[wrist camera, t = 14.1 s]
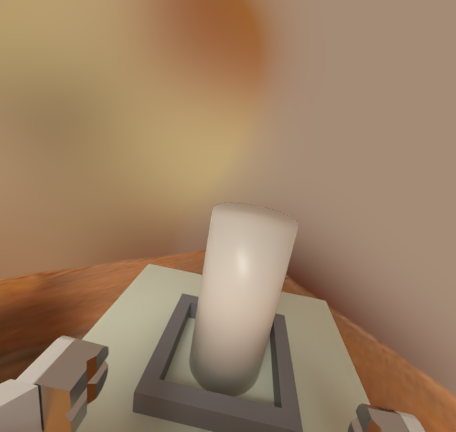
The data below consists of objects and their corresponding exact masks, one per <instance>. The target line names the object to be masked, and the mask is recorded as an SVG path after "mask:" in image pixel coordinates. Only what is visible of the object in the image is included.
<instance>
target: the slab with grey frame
mask: <svg viewBox="0 0 456 432" xmlns="http://www.w3.org/2000/svg"><path fill="white" fill-rule="evenodd" d="M201 279H202V275H201V274H196V273H191V272H186V271H181V270H177V269H172V268H167V267H162V266H158V265H153V264H148V265H147V266H146V267H145V269H144V270H143V271H142V272H141V273H140V274H139V275H138V277H137V278H136V279H135V280H134V281H133V282H132V283H131V284H130V286H129V287H128V288H127V289H126V290H125V291H124V292H123V294H122V295H121V296H120V297H119V298H118V299H117V300H116V301H115V303H114V304H113V305H112V306H111V307H110V308H109V309H108V311H107V312H106V313H105V314H104V315H103V316H102V317H101V318H100V320H99V321H98V322H97V323H96V324H95V325H94V326H93V328H92V329H91V330H90V331H89V332H88V333H87V334H86V335H85V337H84V338H83V339H82V340H85V341H88V342H92V343H96V344H100V345H104V346H107V347H108V351H109V355H108V356H107V358H106V359H105V361H106V363H107V364H108V374H107V378H106V381H105V383H104V386H103V388H102V390H101V392H100V393H99V395H98V397H97V398H96V399H95V400H94V401H92V402H91V403H89V404H87V415H86V416H85V418H84V419H83V421H82V423H81V424H80V426H79V427H78V429H77V430H76V432H348V428H349V425H350V422H351V421H352V420H354V419H356V418H358V417H357V414H356V409H357V407H358V405H360V404H362V403H363V404H368V405H370V402H369V400H368V398H367V395H366V393H365V391H364V388H363V386H362V384H361V381H360V379H359V377H358V374H357V372H356V370H355V367H354V365H353V363H352V361H351V358H350V356H349V354H348V351H347V349H346V347H345V344H344V342H343V340H342V337H341V335H340V333H339V330H338V328H337V326H336V323H335V321H334V319H333V316H332V314H331V312H330V309H329V307H328V305H327V303H326V301H325V300H320V299H315V298H310V297H306V296H301V295H296V294H291V293H287V292H282V291H281V294H280V298H279V302H278V305H277V309H276V313H275V317H274V320H273V324H272V328H271V331H270V335H269V339H268V343H267V346H266V350H265V354H264V358H263V361H262V365H261V369H260V372H259V376H258V379H257V381H256V383H255V385H254V386H253V387H252V388H251V389H250V390H249V391H247V392H246V393H244V394H241V395H238V396H228V395H224V394H220V393H216V392H211V391H207V390H206V389H204V388H203V387H202V386H200V385H199V384H198V382H197V381H196V380H195V379H194V377H193V375H192V373H191V370H190V366H189V357H190V350H191V344H192V337H193V331H194V324H195V318H196V311H197V305H198V298H199V292H200V285H201Z"/></svg>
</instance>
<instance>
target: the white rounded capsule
mask: <svg viewBox="0 0 456 432" xmlns="http://www.w3.org/2000/svg"><path fill="white" fill-rule="evenodd" d="M298 227H299V225H298V223H297V221H295V220H294V219H293V218H291V217H290V216H288V215H285V214H284V213H281V212H279V211H276V210H273V209H269V208H266V207H262V206H257V205H252V204H244V203H221V204H217V205H215V206H214V207H213V208H212V214H211V221H210V228H209V234H208V240H207V247H206V253H205V260H204V266H203V273H202V279H201V285H200V292H199V298H198V305H197V311H196V318H195V324H194V331H193V337H192V344H191V350H190V357H189V366H190V370H191V373H192V375H193V377H194V379H195V380H196V381H197V382H198V384H199V385H200V386H202V387H203V388H204V389H206V390H207V391H211V392H216V393H220V394H224V395H228V396H238V395H241V394H244V393H246V392H247V391H249V390H250V389H251V388H252V387H253V386H254V385H255V383H256V381H257V379H258V376H259V372H260V369H261V365H262V361H263V358H264V354H265V350H266V346H267V343H268V339H269V335H270V331H271V328H272V324H273V320H274V317H275V313H276V309H277V305H278V302H279V298H280V294H281V290H282V287H283V283H284V279H285V276H286V272H287V268H288V264H289V261H290V257H291V253H292V249H293V246H294V242H295V238H296V234H297V231H298Z"/></svg>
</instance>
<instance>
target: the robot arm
mask: <svg viewBox="0 0 456 432" xmlns="http://www.w3.org/2000/svg"><path fill="white" fill-rule="evenodd" d="M108 355H109V351H108V347H107V346H104V345H100V344H96V343H92V342H88V341H85V340H81V339H76V338H72V337H68V336H64V335H63V336H61V337H59V338H57V339H56V340H55V341H54V342H53V343H52V344H51V345H50V346H49V347H48V348H47V349H46V350H45V351H44V352H43V353H42V354H41V355H40V356H39V357H38V358H37V359H36V360H35V361H34V362H33V363H32V364H31V365H30V366H29V367H28V368H27V369H26V370H25V371H24V372H23V373H22V374H21V375H20V376H19V377H18V378H17V379H16V380H14V379H9V380H7V381H5V382H3V383H1V384H0V432H76V430H77V429H78V427H79V426H80V424H81V423H82V421H83V419H84V418H85V416H86V415H87V404H89V403H91V402H92V401H94V400H95V399H96V398H97V397H98V395H99V393H100V392H101V390H102V388H103V386H104V383H105V381H106V378H107V374H108V364H107V363H106V361H105V359H106V358H107V356H108ZM356 414H357V417H358V418H356V419H354V420H352V421H351V422H350V425H349V428H348V432H425V430H424V429H423V427H422V425H421V423H420V422H419V420H418V419H417V418H416V417H415V416H414V415H412V414H408V413H403V412H399V411H394V410H391V409H387V408H382V407H377V406H372V405H368V404H363V403H362V404H360V405H358V407H357V409H356Z"/></svg>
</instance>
